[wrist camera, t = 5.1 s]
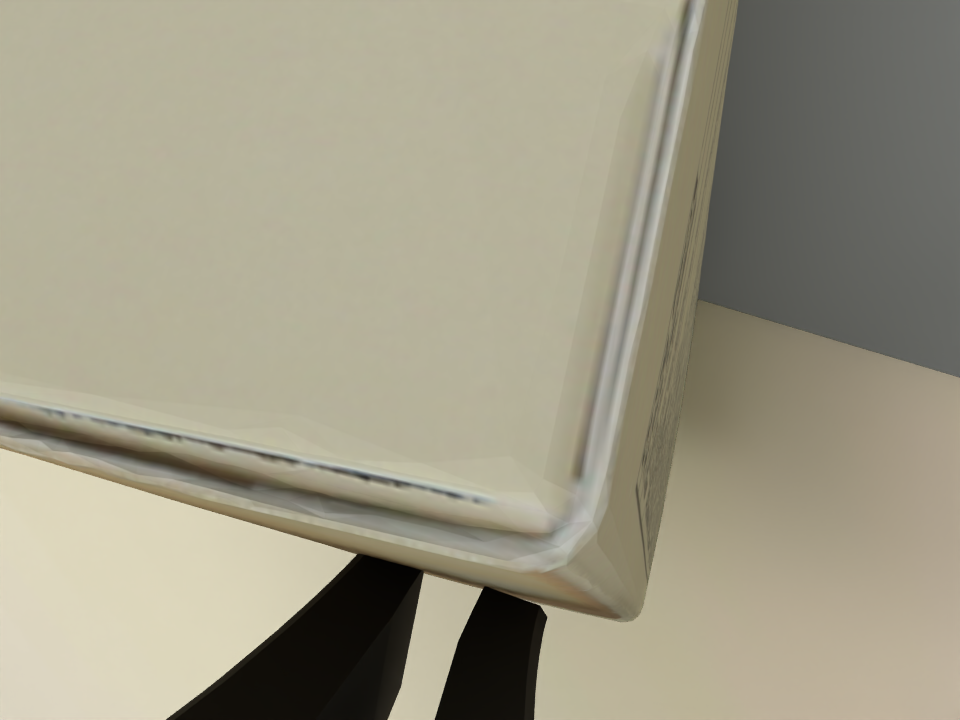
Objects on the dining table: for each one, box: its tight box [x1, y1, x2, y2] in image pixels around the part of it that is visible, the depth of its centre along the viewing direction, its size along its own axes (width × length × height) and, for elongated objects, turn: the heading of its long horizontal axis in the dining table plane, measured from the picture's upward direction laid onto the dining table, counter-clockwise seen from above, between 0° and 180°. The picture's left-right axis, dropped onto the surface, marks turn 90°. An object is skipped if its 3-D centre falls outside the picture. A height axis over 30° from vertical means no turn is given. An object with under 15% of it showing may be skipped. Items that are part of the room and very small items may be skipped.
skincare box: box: [0, 0, 738, 622], centre depth 10 cm, size 6×4×12 cm
